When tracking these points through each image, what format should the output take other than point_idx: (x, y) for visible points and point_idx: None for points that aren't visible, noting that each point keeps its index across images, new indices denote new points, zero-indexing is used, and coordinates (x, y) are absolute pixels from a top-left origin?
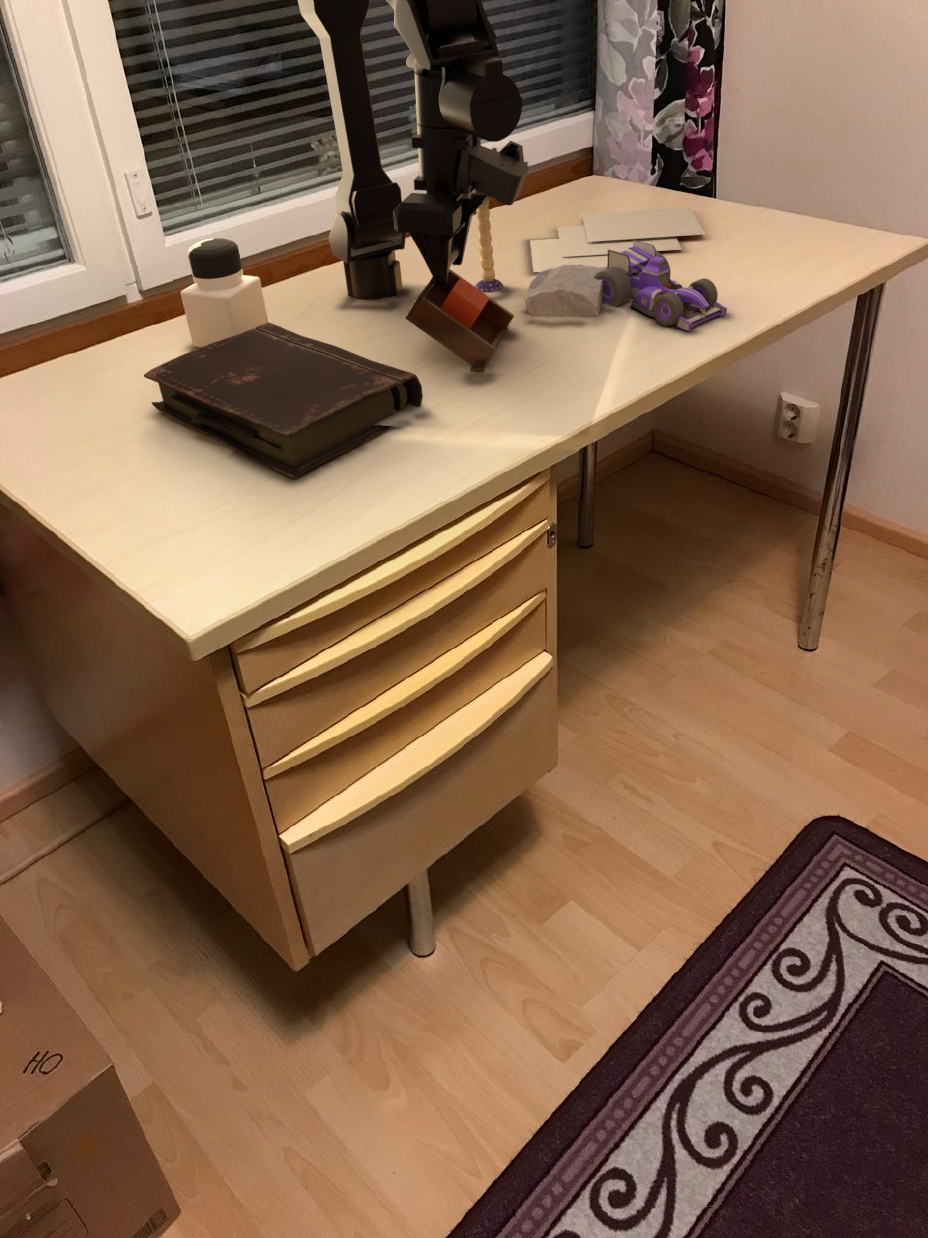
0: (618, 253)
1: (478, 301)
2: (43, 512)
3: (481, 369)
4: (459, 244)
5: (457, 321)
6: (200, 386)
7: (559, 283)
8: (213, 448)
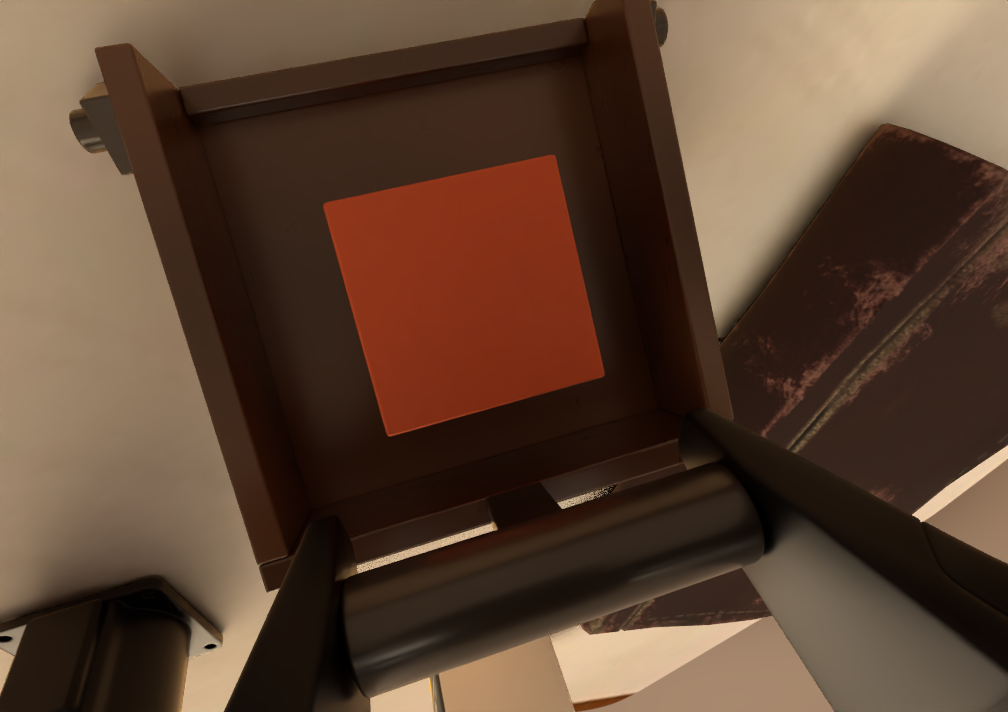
0: None
1: (488, 219)
2: (994, 466)
3: (655, 13)
4: (338, 664)
5: (676, 222)
6: None
7: None
8: None
